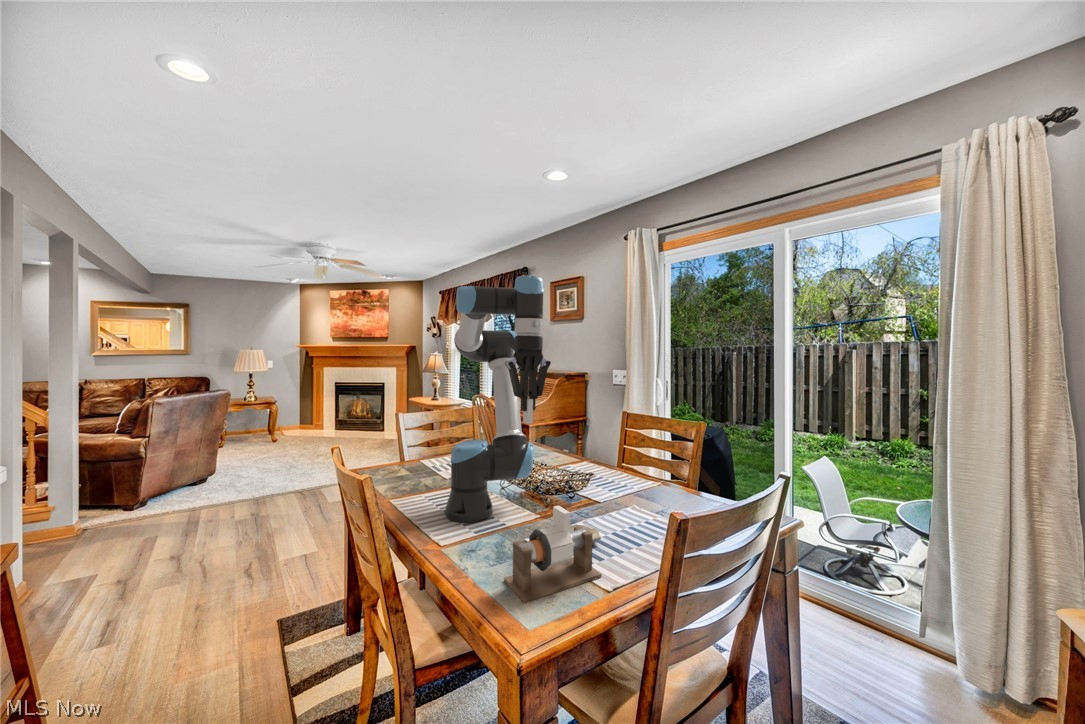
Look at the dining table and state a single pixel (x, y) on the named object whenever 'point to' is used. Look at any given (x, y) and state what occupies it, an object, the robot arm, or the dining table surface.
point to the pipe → (576, 538)
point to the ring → (546, 547)
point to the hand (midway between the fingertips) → (527, 422)
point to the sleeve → (559, 537)
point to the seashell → (595, 532)
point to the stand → (550, 572)
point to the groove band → (538, 550)
